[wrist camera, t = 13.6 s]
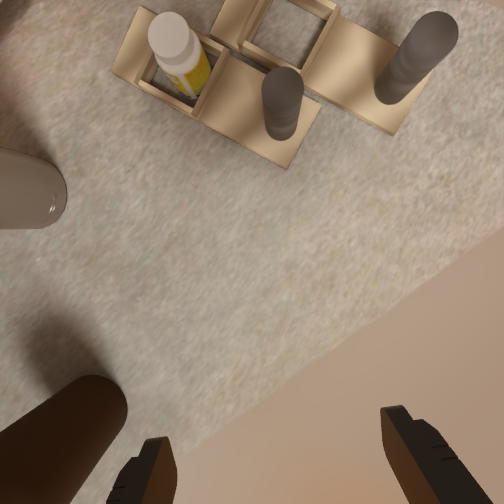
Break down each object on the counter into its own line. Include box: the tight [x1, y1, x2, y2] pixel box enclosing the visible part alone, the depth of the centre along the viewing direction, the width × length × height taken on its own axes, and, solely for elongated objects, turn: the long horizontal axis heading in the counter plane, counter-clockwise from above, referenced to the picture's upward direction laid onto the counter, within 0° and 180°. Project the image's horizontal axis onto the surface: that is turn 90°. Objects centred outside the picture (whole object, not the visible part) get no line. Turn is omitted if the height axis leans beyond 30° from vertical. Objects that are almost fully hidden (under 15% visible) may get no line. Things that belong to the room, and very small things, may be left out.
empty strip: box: [209, 0, 458, 136], centre depth 28 cm, size 24×8×10 cm, turn 61°
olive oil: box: [0, 375, 127, 504], centre depth 28 cm, size 11×11×25 cm
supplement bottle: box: [148, 12, 212, 99], centre depth 31 cm, size 5×5×8 cm
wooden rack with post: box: [110, 6, 322, 170], centre depth 30 cm, size 24×8×10 cm, turn 61°
